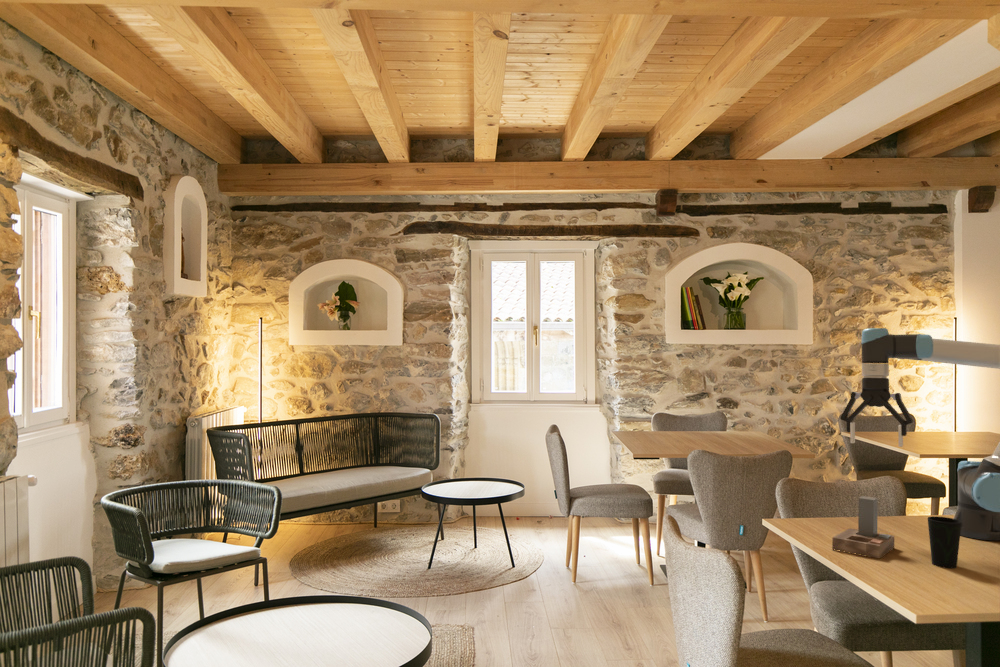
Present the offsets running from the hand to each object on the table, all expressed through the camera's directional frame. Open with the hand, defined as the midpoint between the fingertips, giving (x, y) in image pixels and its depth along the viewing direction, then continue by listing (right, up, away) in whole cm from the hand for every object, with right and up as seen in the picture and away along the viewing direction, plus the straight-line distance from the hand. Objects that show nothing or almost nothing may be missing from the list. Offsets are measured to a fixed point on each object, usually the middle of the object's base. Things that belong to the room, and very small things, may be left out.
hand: (876, 444), depth 221 cm
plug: (-12, -27, -17) cm, 34 cm away
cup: (0, -27, -34) cm, 43 cm away
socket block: (-14, -27, -20) cm, 36 cm away
